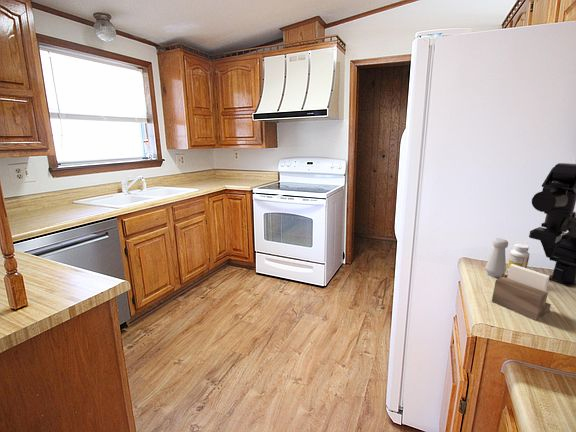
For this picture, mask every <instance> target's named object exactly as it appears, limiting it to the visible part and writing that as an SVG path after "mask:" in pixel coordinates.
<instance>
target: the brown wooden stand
mask: <svg viewBox="0 0 576 432" xmlns="http://www.w3.org/2000/svg"><path fill="white" fill-rule="evenodd" d="M548 294H549V292H547V291H546V292H544V291H542V290H539V289H536V288H533V287H530V286H528V285H525V284H522V283H519V282H516V281H514V280H511V279H508V278H507V277H505V276H501V277H500V278H497V279H495V281H494V287H493V293H492V298H491V302H492V303H493V304H496V305H498V306H501V307H503V308H506V309H507V310H510V311H513V312H514V313H517V314H520V315H522V316H523V317H526V318H527V319H528V318H529V319H531V320H533V321H537V320H539V319H540V318H541V317H543V316H544V315H546V314H547V313H548V312H549V311H550V309H551V305H552V304H550V303H548V302H547V298H548V296H549V295H548Z"/></svg>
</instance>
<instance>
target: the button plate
mask: <svg viewBox="0 0 576 432" xmlns="http://www.w3.org/2000/svg"><path fill="white" fill-rule="evenodd" d="M549 277H550V275H548V274H545V273H542V272H538V271H535V270H533V269H529V268H528V267H527V268H523V267H520V266H517V265H514V264H511V265H510V266H509V271H508V270H507V276H506V278H508V279H511V280H514V281H516V282H519V283H522V284H525V285H528V286H530V287H533V288H536V289H539V290H542V291H544V292H547V289H548V285H549V281H550V279H549Z"/></svg>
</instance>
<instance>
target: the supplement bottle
mask: <svg viewBox="0 0 576 432" xmlns="http://www.w3.org/2000/svg"><path fill="white" fill-rule="evenodd" d="M529 259H530V253H529V245H527V244H524V243H515V244H514V246H513V248H512V249H511V251H510V253H509V258H508V262H507V263H508V264H507V266H506V267H507V268H506V270H507V272H508V271H509V266H510V265H511V264H514V265H517V266H520V267H523V268H527V269H528V264H529V261H530V260H529Z"/></svg>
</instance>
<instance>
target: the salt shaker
mask: <svg viewBox="0 0 576 432" xmlns="http://www.w3.org/2000/svg"><path fill="white" fill-rule="evenodd" d="M492 245H493V248H492V251H491V253H490V256H489V258H488V261H487V263H486V265H485V271H486V273H487V276H490V277H492V278H497V279H499V278H501V277H503V275H505V273H506V270H507V268H506V267H507V266H506V265H507V264H506V249H507V248H508V246H509V242H508V240H506V239H505V238H494V239H493V241H492Z"/></svg>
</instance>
